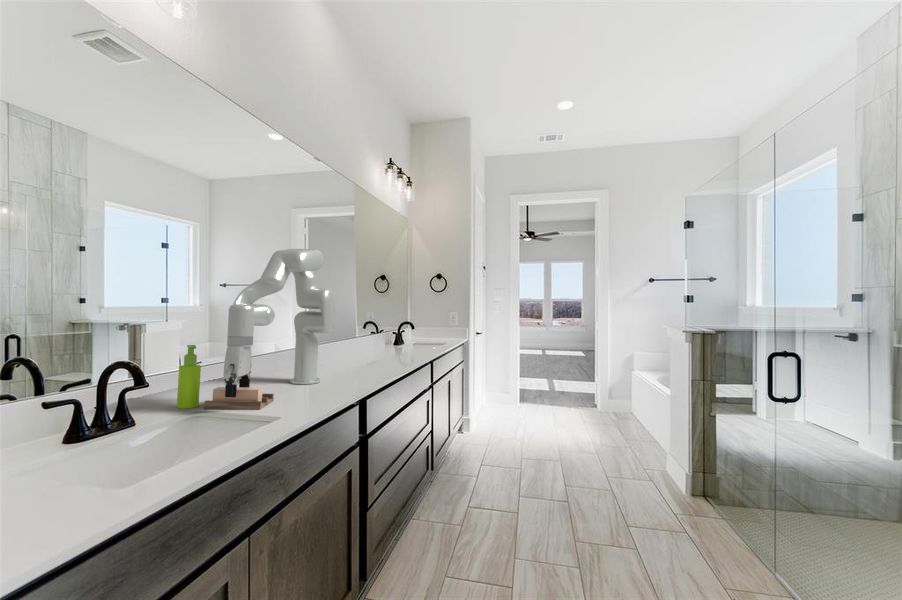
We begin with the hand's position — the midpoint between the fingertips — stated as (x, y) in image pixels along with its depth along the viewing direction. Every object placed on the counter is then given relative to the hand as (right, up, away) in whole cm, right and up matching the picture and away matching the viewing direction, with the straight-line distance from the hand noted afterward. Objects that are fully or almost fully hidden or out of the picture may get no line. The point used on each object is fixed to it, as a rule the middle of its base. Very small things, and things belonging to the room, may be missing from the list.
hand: (237, 393), depth 126 cm
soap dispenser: (-15, -4, -2) cm, 16 cm away
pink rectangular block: (0, -3, 0) cm, 3 cm away
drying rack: (0, -4, +3) cm, 5 cm away
